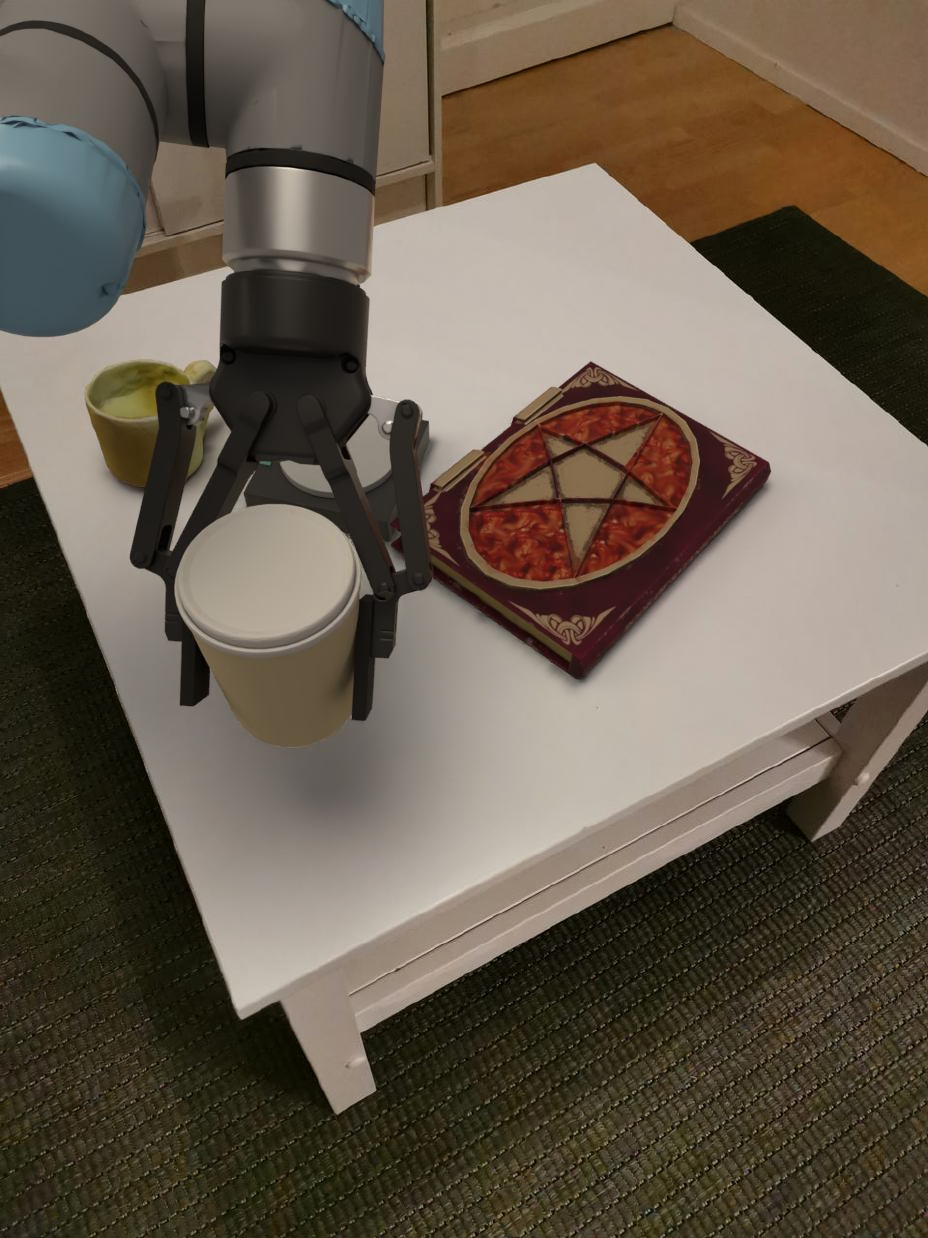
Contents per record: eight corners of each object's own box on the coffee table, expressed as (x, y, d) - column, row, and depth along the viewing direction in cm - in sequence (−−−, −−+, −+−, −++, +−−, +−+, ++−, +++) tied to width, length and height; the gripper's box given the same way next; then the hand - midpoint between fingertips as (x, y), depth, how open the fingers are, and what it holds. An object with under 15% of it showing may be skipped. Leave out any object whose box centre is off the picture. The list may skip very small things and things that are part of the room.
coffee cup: (403, 671, 57) (396, 544, 47) (312, 790, 52) (282, 676, 42) (282, 607, 59) (252, 474, 50) (185, 714, 54) (130, 590, 45)
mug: (121, 511, 78) (96, 397, 73) (88, 471, 85) (63, 364, 80) (255, 479, 84) (242, 371, 78) (214, 444, 91) (199, 343, 86)
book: (580, 686, 71) (589, 651, 67) (383, 544, 79) (381, 505, 75) (763, 489, 84) (780, 450, 80) (579, 383, 92) (587, 343, 88)
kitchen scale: (248, 512, 81) (241, 485, 78) (299, 415, 88) (295, 388, 86) (389, 541, 79) (387, 515, 76) (429, 440, 87) (429, 414, 84)
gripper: (504, 308, 50) (473, 706, 54) (121, 281, 51) (115, 676, 55) (505, 279, 43) (468, 743, 47) (57, 248, 44) (55, 708, 47)
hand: (278, 707), depth 51 cm, fingers closed on coffee cup, 9 cm apart
